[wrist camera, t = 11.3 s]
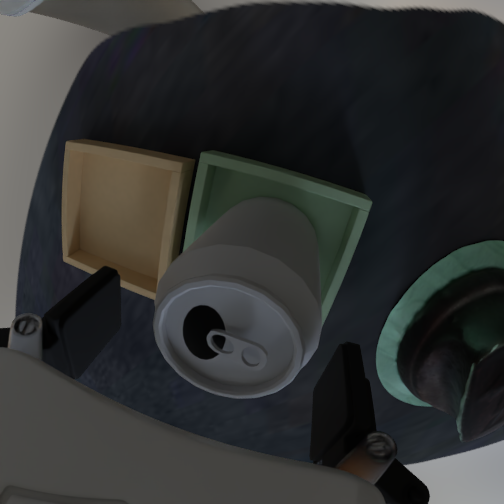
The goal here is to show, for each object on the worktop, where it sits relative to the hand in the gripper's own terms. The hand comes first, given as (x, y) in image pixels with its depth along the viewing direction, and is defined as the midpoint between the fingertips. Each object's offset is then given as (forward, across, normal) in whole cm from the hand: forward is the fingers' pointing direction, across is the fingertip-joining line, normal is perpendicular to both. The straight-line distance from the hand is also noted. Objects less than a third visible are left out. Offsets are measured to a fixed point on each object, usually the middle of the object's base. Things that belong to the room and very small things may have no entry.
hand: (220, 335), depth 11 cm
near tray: (+12, -1, 0) cm, 12 cm away
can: (+12, 0, 0) cm, 12 cm away
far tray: (+12, +12, +2) cm, 17 cm away
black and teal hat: (+12, -22, +4) cm, 25 cm away
